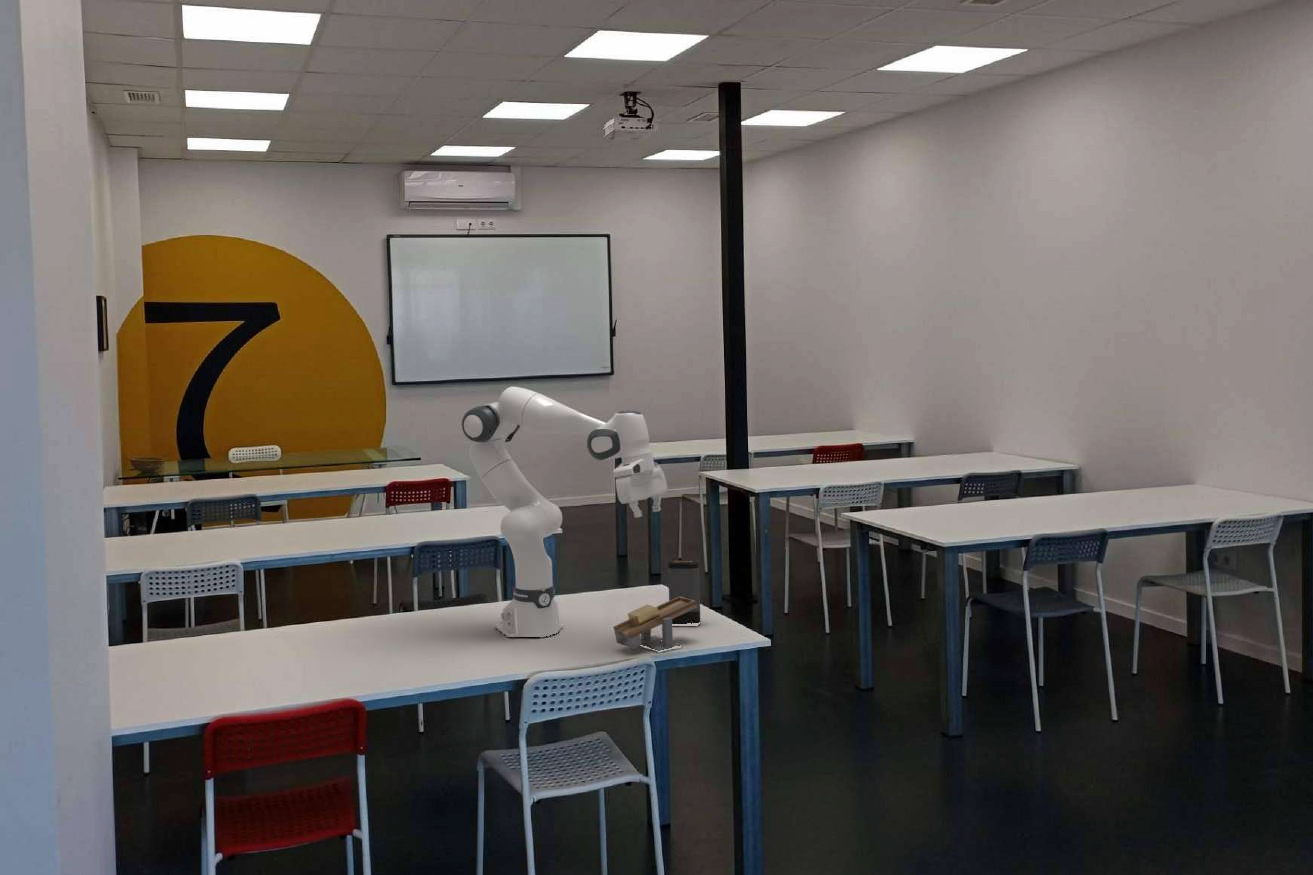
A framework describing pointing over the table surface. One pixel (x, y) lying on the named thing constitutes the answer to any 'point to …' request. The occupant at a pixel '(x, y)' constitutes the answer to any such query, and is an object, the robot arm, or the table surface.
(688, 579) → the electronic device
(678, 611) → the beam
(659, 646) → the stand
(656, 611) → the rider
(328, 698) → the table surface
